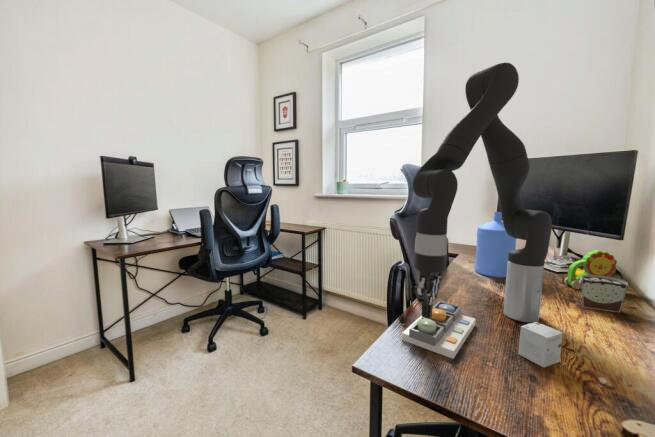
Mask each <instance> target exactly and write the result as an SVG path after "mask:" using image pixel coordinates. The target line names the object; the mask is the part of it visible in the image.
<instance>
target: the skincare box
mask: <svg viewBox="0 0 655 437" xmlns="http://www.w3.org/2000/svg"><path fill="white" fill-rule="evenodd" d="M519 333H520V334H519V341H518V342H519V343H518V344H519V345H518V353H517V354H518V355H520V356H521V357H523V358H525V359H527V360H529V361H531V362H532V363H534V364H536V365H537V366H540V367H541V368H543V369H544V368H547V367H549V366H553V365H554V364H558V363H559V362H560V361H561V354H562V343H563V334H564V333H563V331H560V330H559V329H556V328H553V327H550V326H548V325H546V324H543V323H541V322H539V321H538V322H534V323H533V322H528V323H527V324H523V325H521V326H520V332H519Z"/></svg>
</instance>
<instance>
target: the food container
mask: <svg viewBox="0 0 655 437" xmlns="http://www.w3.org/2000/svg"><path fill="white" fill-rule="evenodd" d="M579 283H581V284H582V288H581V307H582V308H586V309H593V310H599V311H606V312H613V313H621V311H622V306H623V302H624V299H625V297H626V293H627V290H630V284H629V283H628V282H627V281H625V280H622V279H619V278H615V277H611V276H607V277H606V276H599V275H583V276H582V277H581V278H580V281H579Z"/></svg>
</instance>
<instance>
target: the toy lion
mask: <svg viewBox="0 0 655 437" xmlns="http://www.w3.org/2000/svg"><path fill="white" fill-rule="evenodd" d="M617 263H618V262H617V259H616V258H615V256H614V254H611V253H609V252H608V251H605V250H604V251H603V250H599V249H594V250H592V251H589V252H587V253H586V254H585V255H584V256H582V258H581V259H579V260H576V261H573V263H571V264H570V265H569V267H568V271H567V277H565V278H564V284H565V285H567V286H569V287H572V288H573V289H575V290H582V284H581V283H579V281H580V278H581V277H582V276H583V275H599V276H606V277H611V276H612V275H613V274H614V272H615V271H617ZM580 267H583V269H584V272H583V273H582V272H581V273H580V274H578V275H577V276H576V273H577V272H576V271H577V270H578V268H580Z"/></svg>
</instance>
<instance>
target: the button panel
mask: <svg viewBox="0 0 655 437" xmlns="http://www.w3.org/2000/svg"><path fill="white" fill-rule="evenodd" d="M441 304H448V305H451V306H453V307H454V308H455V312H454V313H452V312H448V311H445V312H446V321H445V322H443V323H441V322H438V321H434V320H432V321H434V322H435V323H436V333H435V334H432V335H430V334H427V333H424V332H421V331H418V321H419V320H420V319H427V318H424V317H422V314H420V316H419V317H418V318H417V319H416V320H415V321H414V322H413V323H411V324H410V325H409V326H408V327H407V328H406V329H405V330H404V331H403V332H402V334H401V335H402V336H401V340H402V341H404V342H407V343H410V344H412V345H414V346H417V347H421V348H422V349H426V350H428V351H431V352H433V353H436V354H439V355H442V356H444V357H447V358H449V359H452V360H454V359H455V357H456V356H457V354H458V352H459V351H460V350H461V348H462V347H463V345H464V343H465V342H466V340H467V338H468V337H469V335H470V334H471V332H472V331H473V329H474V328H475V326H476V318H475V317H471V316H467V315H464V314H462V306H460V305H456V304H453V303H450V302H449V303H448V302H446V301H441V300H439V301H437V303H435V304H433V308H432V309H439V305H441ZM443 311H444V310H443ZM429 320H431V319H429Z"/></svg>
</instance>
